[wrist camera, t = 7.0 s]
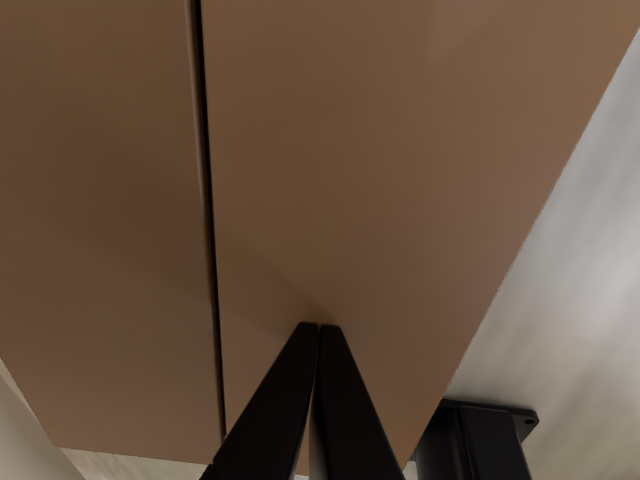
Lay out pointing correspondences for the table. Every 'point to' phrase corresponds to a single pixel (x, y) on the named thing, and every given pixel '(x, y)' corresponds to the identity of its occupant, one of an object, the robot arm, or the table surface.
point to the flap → (388, 174)
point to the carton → (110, 226)
